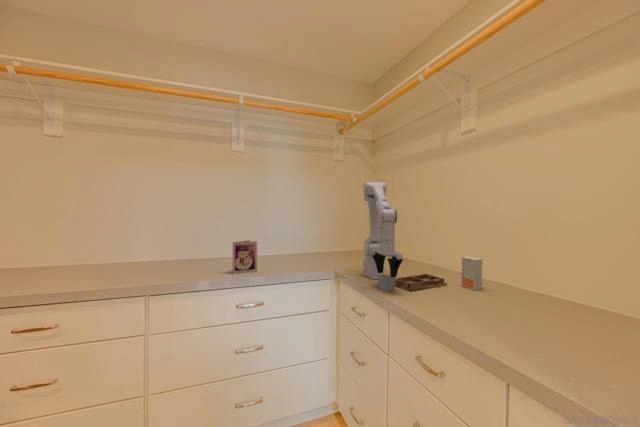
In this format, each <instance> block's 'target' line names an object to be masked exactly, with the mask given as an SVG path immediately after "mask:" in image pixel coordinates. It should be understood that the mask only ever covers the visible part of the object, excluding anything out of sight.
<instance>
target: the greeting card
mask: <svg viewBox="0 0 640 427" xmlns="http://www.w3.org/2000/svg"><path fill="white" fill-rule="evenodd" d="M249 272H250V273H257V272H258V240H256V241H251V240H250V239H247V240H242V241H241V240H240V241H235V242H232V275H236V274H237V275H238V274H239V273H240V274H246V273H248V274H249ZM240 274H239V275H240Z"/></svg>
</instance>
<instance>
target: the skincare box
mask: <svg viewBox="0 0 640 427" xmlns="http://www.w3.org/2000/svg"><path fill="white" fill-rule="evenodd" d="M460 284H461V287H464V288H467V289H470V290H472V291H478V290H482V289H483V288H482V287H483V286H482V285H483V258H479V257H474V256H469V255H468V256H462V257H461V283H460Z"/></svg>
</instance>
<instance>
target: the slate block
mask: <svg viewBox="0 0 640 427" xmlns="http://www.w3.org/2000/svg"><path fill="white" fill-rule="evenodd" d="M395 278H396V277H391V275H390V274H384V275H381V276H378V279H377V282H378V283H377V289H379V290H381V291H383V292H392V291H396V286H395Z"/></svg>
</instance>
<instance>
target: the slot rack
mask: <svg viewBox="0 0 640 427" xmlns="http://www.w3.org/2000/svg"><path fill="white" fill-rule="evenodd" d="M447 285H448V283H447V282H445V278H443V277H439V276H436V275H432V274H429V273H422V274H417V275H410V276H409V275H407V276H402V277H395V287H397V288H400V289H402V290H404V291H407V292H409V293H412V292H417V291H423V290H429V289H434V288H439V287H444V286H447Z"/></svg>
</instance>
